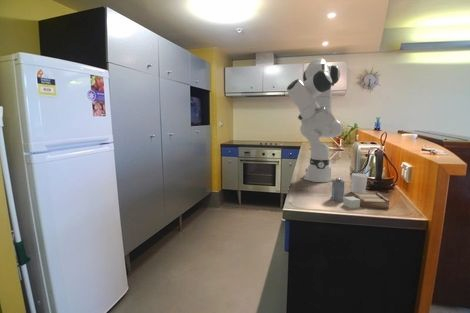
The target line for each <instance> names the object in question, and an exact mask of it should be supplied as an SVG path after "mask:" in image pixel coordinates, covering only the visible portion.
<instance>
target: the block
mask: <svg viewBox="0 0 470 313" xmlns="http://www.w3.org/2000/svg"><path fill="white" fill-rule="evenodd" d="M343 199H344V202H342V203H343V206H344V207H346V208H348V209H360V208H361V207H360V199H358V198H355V197H353V195H352V196H344V198H343Z"/></svg>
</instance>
